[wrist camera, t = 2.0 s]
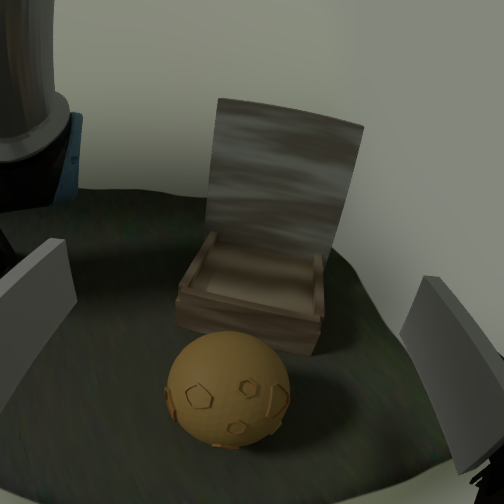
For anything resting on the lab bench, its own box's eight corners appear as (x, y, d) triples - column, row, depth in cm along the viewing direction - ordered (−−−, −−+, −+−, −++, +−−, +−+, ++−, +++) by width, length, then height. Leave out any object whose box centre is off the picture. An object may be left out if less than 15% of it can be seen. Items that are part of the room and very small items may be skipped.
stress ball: (197, 375, 30) (124, 372, 22) (263, 315, 29) (201, 294, 21) (248, 452, 25) (182, 481, 16) (328, 396, 23) (287, 416, 15)
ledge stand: (318, 357, 33) (396, 148, 21) (168, 323, 34) (171, 106, 22) (318, 278, 47) (361, 125, 34) (206, 254, 48) (222, 97, 35)
